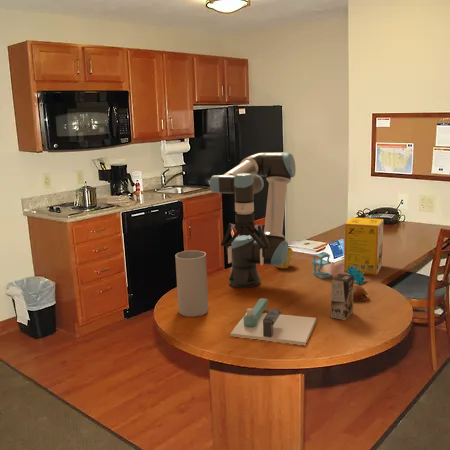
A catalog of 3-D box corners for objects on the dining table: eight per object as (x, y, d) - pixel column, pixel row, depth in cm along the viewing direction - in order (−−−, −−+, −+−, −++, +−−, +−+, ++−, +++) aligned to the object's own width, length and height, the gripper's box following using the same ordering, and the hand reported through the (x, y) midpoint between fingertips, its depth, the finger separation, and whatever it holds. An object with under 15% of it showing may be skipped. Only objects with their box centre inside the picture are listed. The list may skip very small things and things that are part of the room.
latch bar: (254, 327, 193) (254, 312, 191) (242, 326, 194) (241, 311, 193) (269, 305, 213) (269, 292, 212) (258, 304, 215) (257, 291, 213)
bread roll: (354, 300, 230) (348, 283, 231) (373, 296, 223) (367, 278, 224) (342, 307, 223) (336, 289, 224) (361, 302, 216) (354, 284, 217)
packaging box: (350, 262, 274) (351, 217, 268) (382, 265, 267) (383, 219, 261) (343, 271, 260) (344, 223, 254) (376, 274, 253) (378, 225, 247)
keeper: (262, 336, 186) (261, 321, 184) (270, 322, 197) (270, 308, 196) (272, 337, 184) (272, 322, 183) (280, 323, 196) (280, 309, 194)
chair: (321, 272, 260) (321, 249, 258) (332, 275, 254) (333, 252, 251) (309, 275, 256) (309, 252, 254) (321, 279, 249) (321, 255, 247)
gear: (355, 284, 236) (345, 266, 240) (347, 290, 239) (337, 272, 244) (370, 282, 242) (360, 264, 247) (362, 288, 246) (352, 270, 251)
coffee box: (346, 320, 200) (346, 281, 197) (330, 317, 204) (330, 279, 200) (353, 312, 208) (354, 275, 204) (338, 309, 211) (338, 272, 207)
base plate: (230, 336, 189) (230, 333, 189) (247, 314, 210) (247, 311, 209) (305, 346, 180) (305, 342, 180) (316, 321, 200) (316, 318, 200)
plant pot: (293, 263, 275) (292, 246, 273) (292, 269, 266) (292, 251, 263) (273, 263, 277) (273, 246, 275) (272, 269, 267) (271, 251, 265)
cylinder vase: (211, 306, 219) (209, 250, 214) (203, 318, 207) (201, 259, 202) (183, 305, 222) (180, 250, 216) (174, 316, 210) (171, 258, 204)
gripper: (212, 213, 204) (214, 264, 209) (272, 215, 197) (273, 268, 201) (218, 209, 211) (219, 259, 216) (277, 211, 203) (277, 262, 208)
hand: (245, 263), depth 209 cm, fingers open, 13 cm apart
